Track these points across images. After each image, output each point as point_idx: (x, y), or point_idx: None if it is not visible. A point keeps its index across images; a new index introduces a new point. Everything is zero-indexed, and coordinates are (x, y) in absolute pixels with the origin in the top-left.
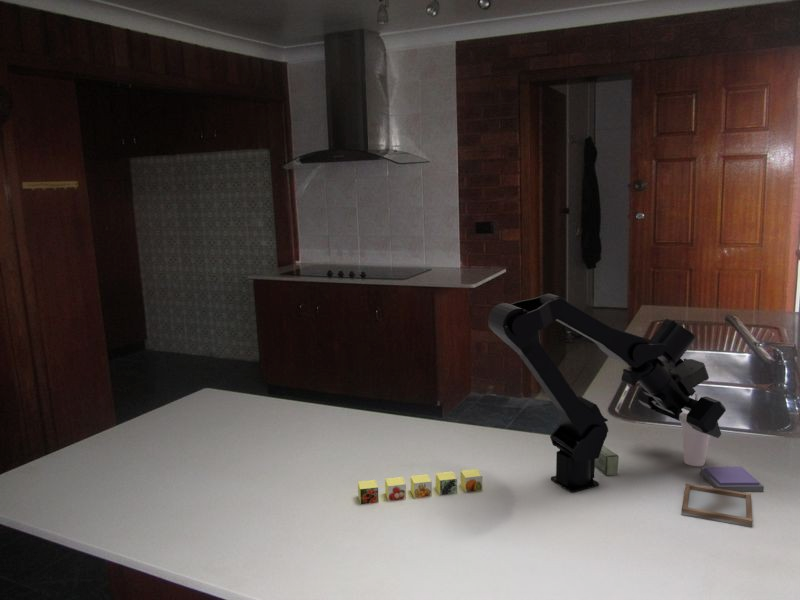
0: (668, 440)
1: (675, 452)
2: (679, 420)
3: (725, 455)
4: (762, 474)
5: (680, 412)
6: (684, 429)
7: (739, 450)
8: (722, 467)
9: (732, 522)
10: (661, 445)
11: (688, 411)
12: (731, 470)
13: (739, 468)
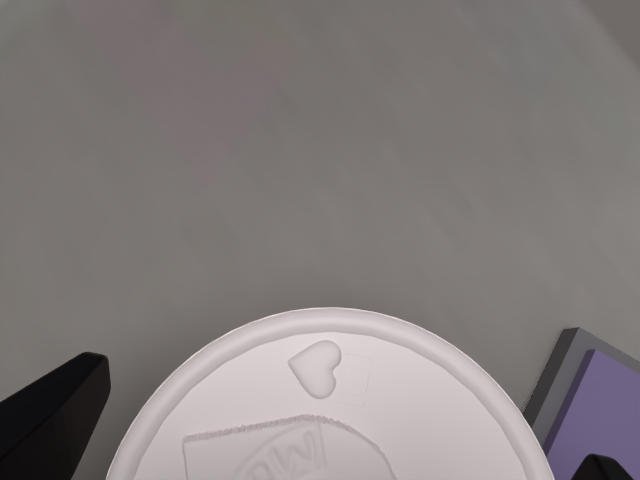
0: (4, 271)
1: None
2: (76, 464)
3: (347, 190)
4: (621, 253)
5: (23, 466)
6: None
7: (342, 71)
8: (553, 470)
9: None
10: (23, 381)
11: (130, 466)
12: None
13: (610, 386)
